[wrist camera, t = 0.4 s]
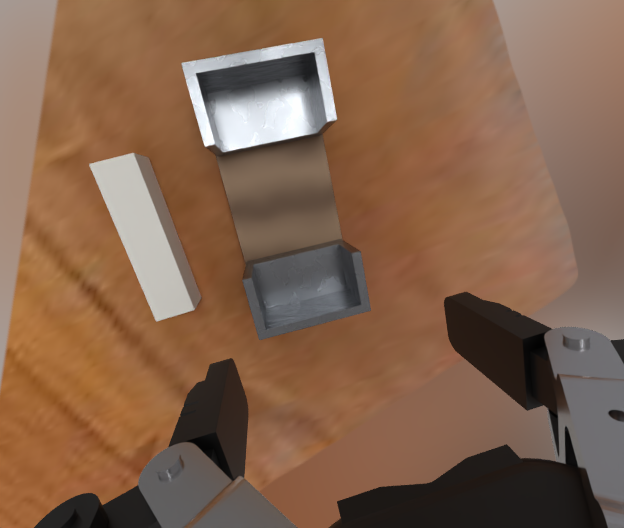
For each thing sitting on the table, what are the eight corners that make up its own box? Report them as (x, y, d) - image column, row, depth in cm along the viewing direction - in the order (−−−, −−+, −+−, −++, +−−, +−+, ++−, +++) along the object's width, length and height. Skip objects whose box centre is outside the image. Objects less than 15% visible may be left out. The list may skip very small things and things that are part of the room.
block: (109, 167, 32) (89, 164, 29) (148, 157, 33) (133, 152, 29) (167, 307, 36) (156, 321, 33) (201, 297, 37) (194, 310, 33)
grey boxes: (200, 93, 30) (181, 63, 23) (308, 73, 31) (322, 38, 24) (260, 310, 36) (259, 340, 28) (349, 287, 37) (370, 310, 29)
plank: (199, 87, 32) (195, 80, 30) (305, 67, 33) (308, 59, 31) (261, 313, 38) (261, 320, 36) (348, 291, 39) (353, 296, 37)
